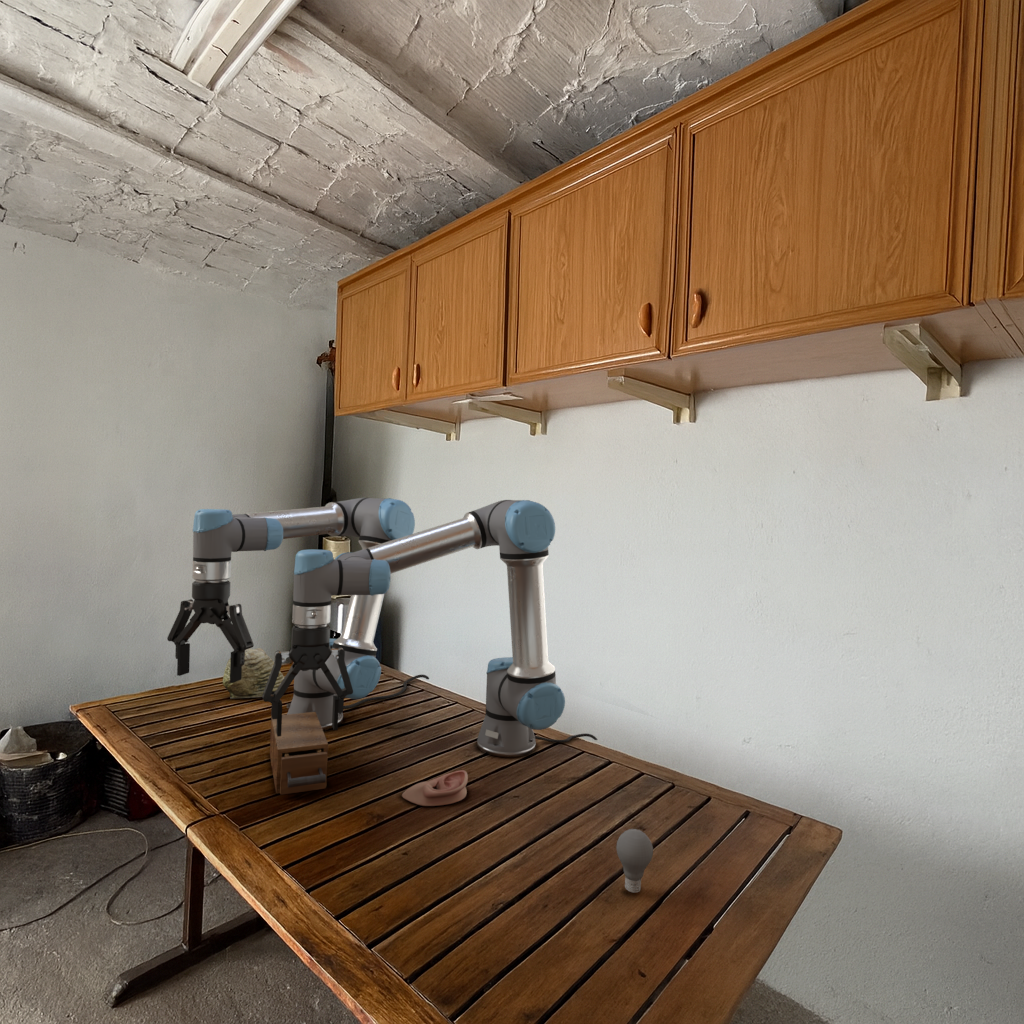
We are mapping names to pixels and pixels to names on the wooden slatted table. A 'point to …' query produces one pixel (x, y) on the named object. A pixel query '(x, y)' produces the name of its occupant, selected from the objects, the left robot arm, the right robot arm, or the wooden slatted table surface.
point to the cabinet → (295, 739)
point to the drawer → (303, 771)
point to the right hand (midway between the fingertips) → (307, 731)
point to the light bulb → (634, 857)
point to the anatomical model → (439, 790)
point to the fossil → (252, 675)
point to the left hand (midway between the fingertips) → (209, 677)
